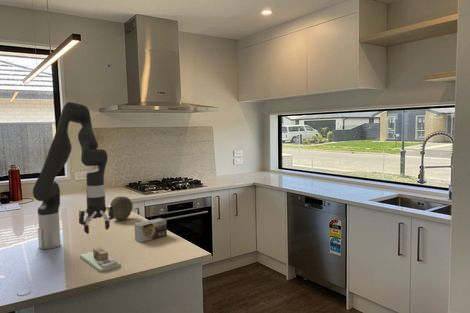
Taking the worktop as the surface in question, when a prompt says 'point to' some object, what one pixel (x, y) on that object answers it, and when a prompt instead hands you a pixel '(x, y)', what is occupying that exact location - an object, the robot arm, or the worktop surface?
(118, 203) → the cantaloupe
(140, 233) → the coffee box
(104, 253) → the tall wooden post
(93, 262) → the board
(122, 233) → the worktop surface
